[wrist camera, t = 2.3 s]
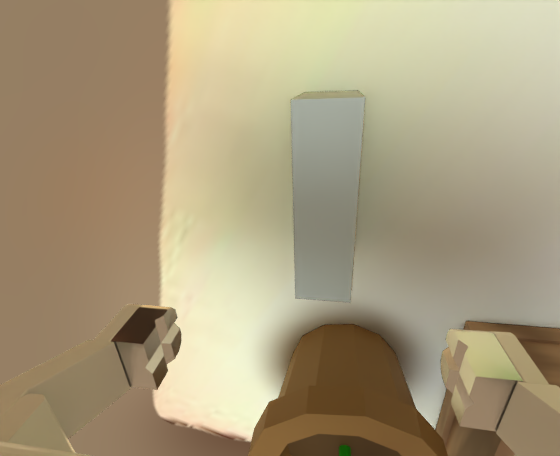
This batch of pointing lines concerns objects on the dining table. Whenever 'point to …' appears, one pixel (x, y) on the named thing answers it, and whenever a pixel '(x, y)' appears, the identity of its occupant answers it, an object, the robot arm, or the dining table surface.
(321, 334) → the flowerpot
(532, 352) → the wooden box
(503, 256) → the dining table surface
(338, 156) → the grey box with stripe
